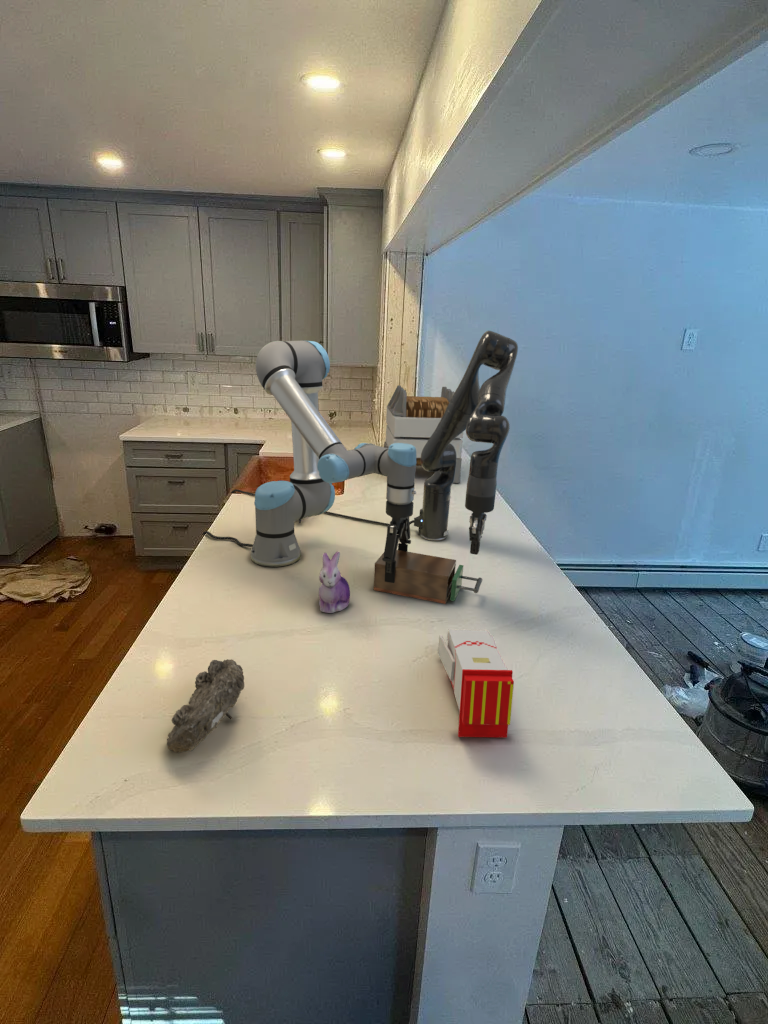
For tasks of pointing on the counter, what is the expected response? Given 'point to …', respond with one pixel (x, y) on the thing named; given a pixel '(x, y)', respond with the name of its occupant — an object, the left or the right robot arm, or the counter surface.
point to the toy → (478, 682)
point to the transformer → (418, 422)
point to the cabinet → (417, 576)
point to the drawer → (457, 583)
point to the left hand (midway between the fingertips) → (395, 572)
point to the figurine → (332, 586)
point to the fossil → (206, 705)
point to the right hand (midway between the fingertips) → (474, 552)
